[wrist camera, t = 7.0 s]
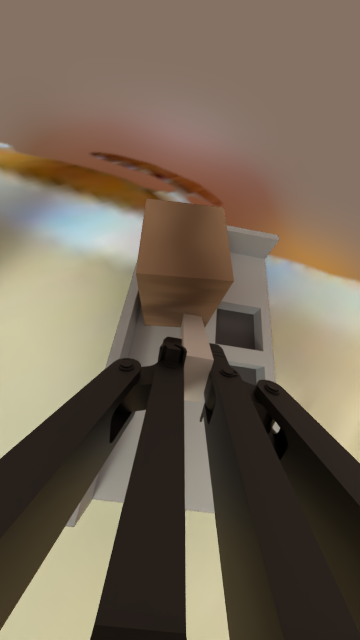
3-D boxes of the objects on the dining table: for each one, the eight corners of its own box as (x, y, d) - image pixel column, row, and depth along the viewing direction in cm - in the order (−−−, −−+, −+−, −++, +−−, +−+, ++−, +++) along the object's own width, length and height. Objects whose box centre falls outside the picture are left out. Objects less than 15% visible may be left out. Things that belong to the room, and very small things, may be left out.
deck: (90, 485, 14) (58, 525, 10) (153, 245, 25) (152, 210, 20) (271, 507, 15) (321, 553, 10) (256, 264, 26) (278, 235, 21)
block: (144, 325, 18) (135, 273, 11) (150, 269, 21) (146, 198, 14) (204, 328, 18) (233, 281, 11) (201, 273, 21) (223, 207, 14)
